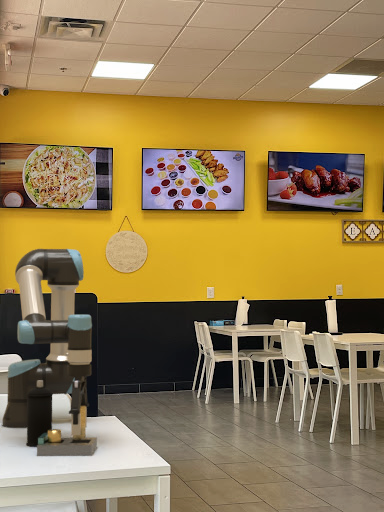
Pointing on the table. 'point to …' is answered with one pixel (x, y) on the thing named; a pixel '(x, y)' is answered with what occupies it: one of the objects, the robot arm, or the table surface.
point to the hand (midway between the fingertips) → (79, 431)
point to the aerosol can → (38, 413)
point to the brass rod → (82, 423)
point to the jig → (64, 445)
